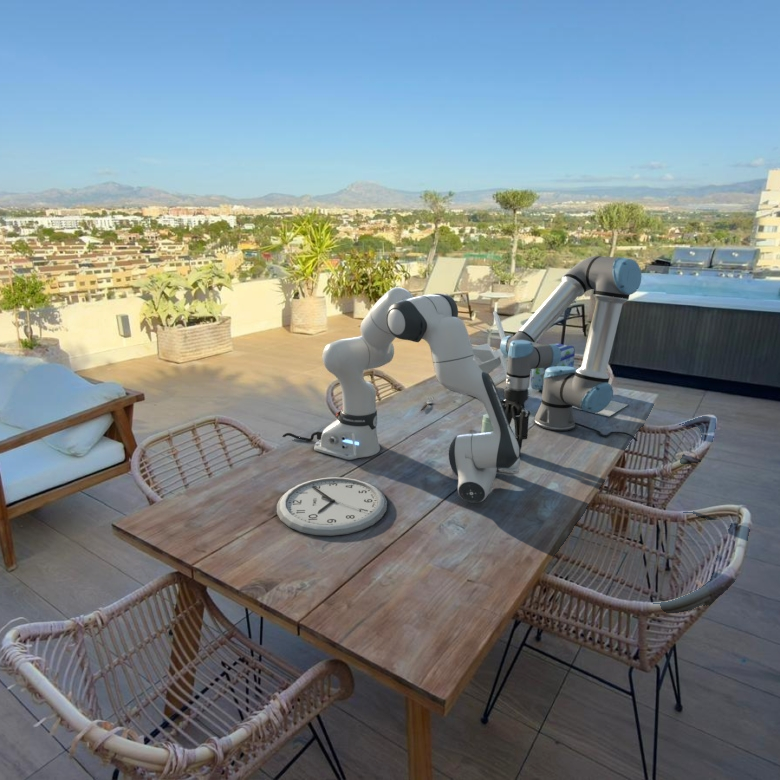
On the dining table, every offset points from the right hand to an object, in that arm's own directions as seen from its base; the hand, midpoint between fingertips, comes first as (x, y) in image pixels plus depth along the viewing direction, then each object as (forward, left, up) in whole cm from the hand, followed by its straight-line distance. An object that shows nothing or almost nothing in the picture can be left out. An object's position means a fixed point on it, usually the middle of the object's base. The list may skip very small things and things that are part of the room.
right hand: (509, 452), depth 179 cm
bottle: (+8, +15, 0) cm, 17 cm away
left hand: (+8, +14, +6) cm, 17 cm away
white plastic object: (+7, -67, 0) cm, 68 cm away
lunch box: (-27, -80, 0) cm, 85 cm away
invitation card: (-44, -55, 0) cm, 71 cm away
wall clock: (+52, +44, 0) cm, 68 cm away
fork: (+31, -43, 0) cm, 53 cm away
